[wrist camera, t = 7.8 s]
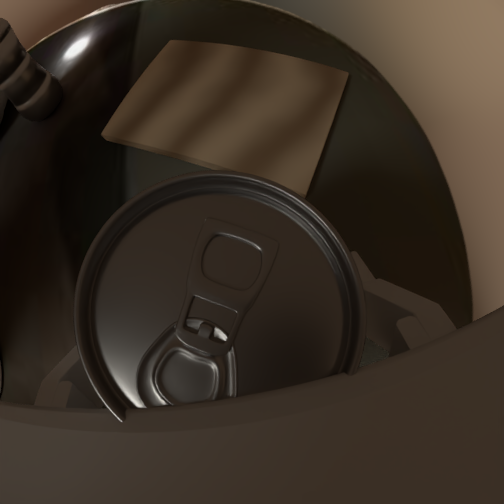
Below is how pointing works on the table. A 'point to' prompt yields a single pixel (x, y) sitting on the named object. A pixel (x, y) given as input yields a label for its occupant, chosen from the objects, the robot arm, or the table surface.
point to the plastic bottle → (26, 78)
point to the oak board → (232, 110)
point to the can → (215, 295)
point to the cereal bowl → (2, 104)
